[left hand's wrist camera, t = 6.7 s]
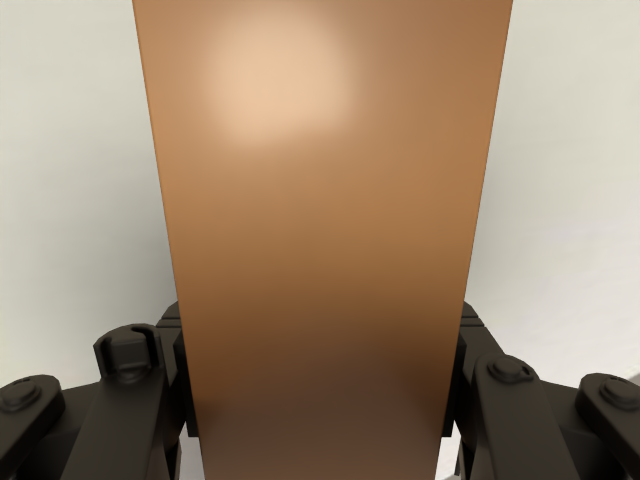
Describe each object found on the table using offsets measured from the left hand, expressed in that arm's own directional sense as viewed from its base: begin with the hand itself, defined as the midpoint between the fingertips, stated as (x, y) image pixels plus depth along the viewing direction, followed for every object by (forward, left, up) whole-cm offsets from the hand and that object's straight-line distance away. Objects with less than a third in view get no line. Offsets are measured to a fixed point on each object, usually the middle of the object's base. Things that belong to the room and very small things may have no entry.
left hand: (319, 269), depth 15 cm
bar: (+14, +16, -1) cm, 21 cm away
